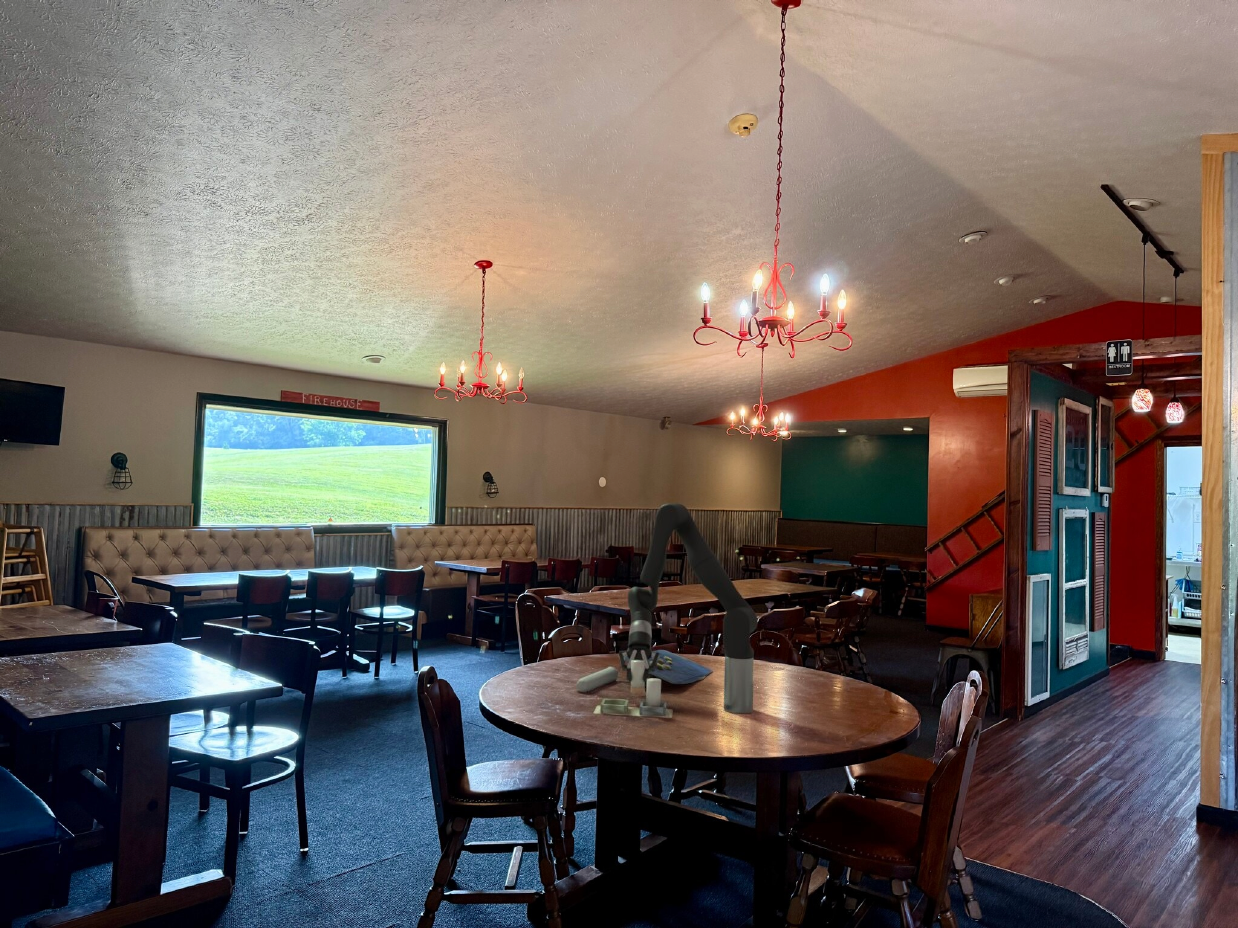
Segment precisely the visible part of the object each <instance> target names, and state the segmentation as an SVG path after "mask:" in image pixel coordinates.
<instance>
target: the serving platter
mask: <svg viewBox="0 0 1238 928" xmlns="http://www.w3.org/2000/svg"><path fill="white" fill-rule="evenodd" d="M652 653H655V654H656V653H659V661H658V663H657V666H656V668H655V671H653V672H652V671H650V672H649V675H652V676H655V677H656V678H658V679H660V680H664V681H666V682H669V683H670V684H673V685H674V684H675V685H679V684H681V685H682V684H683V685H684V684H691V683H692V684H693V683H695V682H696V681H702V680H704V679H705V678H706V677H707V676H708V675H710V674H711V673H713V670H712V669H710V668H709V667H706V666H703V665H702V664H700V663H697V662H695V661H693V660H690V659H688V658H687V657H683V656H680V655H678V654H675V653H674V652H673V653H672V651H671V652H670V651H669V650H666V649H665V650H664V649H658V650H654V651H652ZM629 660H630V659H629V658H628V657H627V656H626V657H625V660H624V661H625V663H627V664H628V663H629ZM652 661H653V659H652V656H651V657H650V659H649V660H648V661H647V662H648V666H650V665H651V664H652ZM620 670H622V667H621V666H620V667H619V669H618V670H617V671H618V673H619V672H620Z"/></svg>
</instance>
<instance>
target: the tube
mask: <svg viewBox="0 0 1238 928" xmlns="http://www.w3.org/2000/svg"><path fill="white" fill-rule="evenodd" d="M618 671H619V670H618V669H617V668H615V667H614V666H608V667H606V668H604V669H602V670H599V671H597V672H593V673H592V674H588V675H586V676H584V677H581V678H579V680H578V681H577V682H576V689H577V691H578V692H579V693H588V692H590V691H592V690H595V689H598V688H599V687H602V686H605V685H607V684H609V682H610V683H612V682H614V681H615V682H616V680H617V679H618V678H619V672H618ZM611 681H612V682H611ZM604 684H605V685H604ZM597 687H598V688H597ZM594 688H595V689H594ZM587 691H588V692H587Z"/></svg>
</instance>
